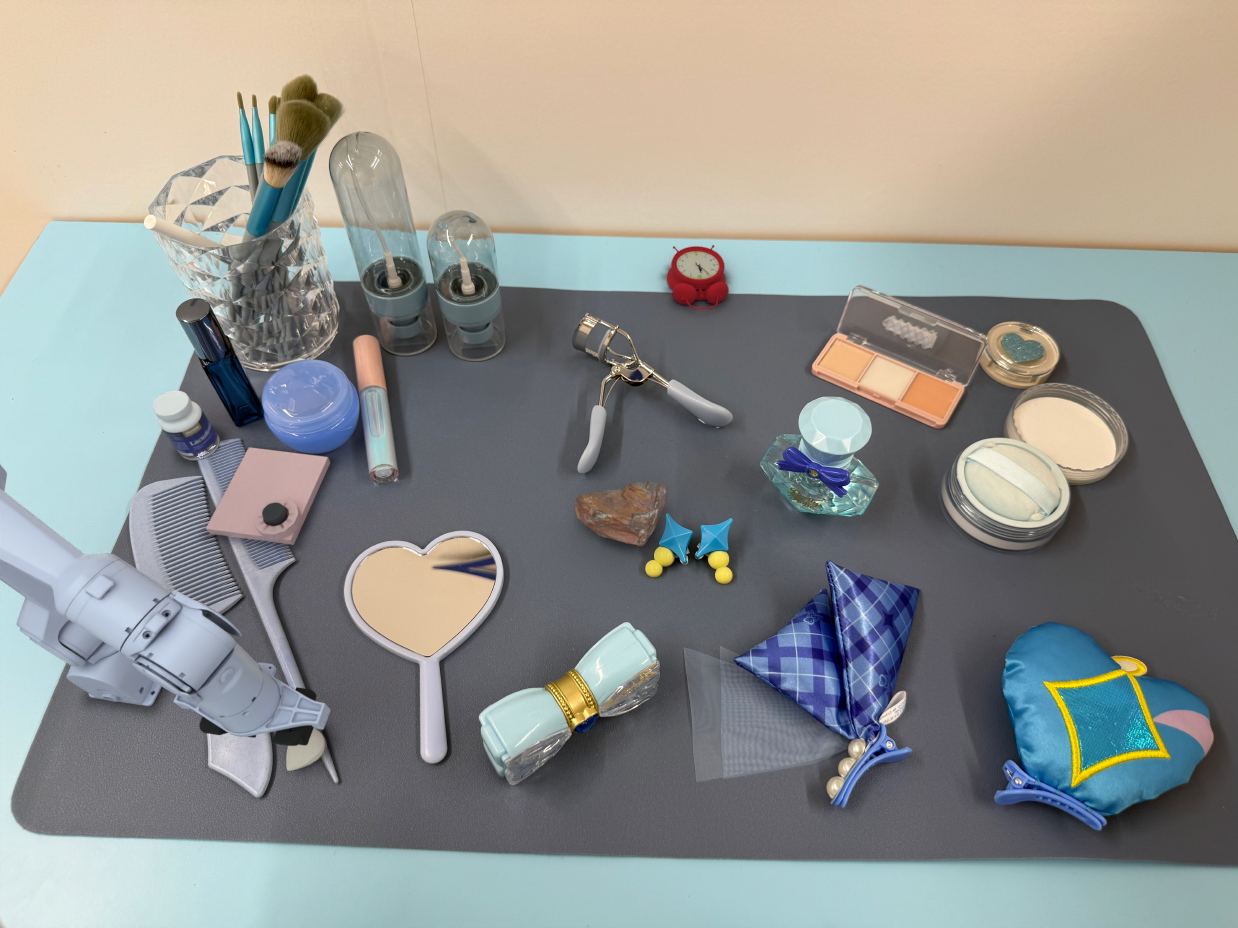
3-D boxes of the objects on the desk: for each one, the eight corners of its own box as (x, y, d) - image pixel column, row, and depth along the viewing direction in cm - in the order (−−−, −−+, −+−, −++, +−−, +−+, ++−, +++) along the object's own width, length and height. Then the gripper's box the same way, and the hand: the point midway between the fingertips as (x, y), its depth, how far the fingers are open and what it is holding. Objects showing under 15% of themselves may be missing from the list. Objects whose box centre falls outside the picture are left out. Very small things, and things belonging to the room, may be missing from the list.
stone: (662, 504, 109) (666, 463, 101) (674, 556, 104) (679, 517, 96) (573, 515, 108) (571, 475, 100) (581, 569, 103) (579, 530, 95)
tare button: (282, 527, 103) (278, 521, 102) (262, 524, 103) (258, 518, 102) (290, 509, 105) (286, 503, 103) (271, 507, 105) (267, 500, 104)
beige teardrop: (336, 744, 89) (329, 737, 87) (305, 783, 86) (298, 777, 84) (308, 725, 90) (301, 718, 88) (277, 763, 88) (269, 756, 86)
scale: (295, 547, 104) (287, 536, 102) (208, 536, 105) (199, 524, 103) (333, 462, 112) (327, 450, 110) (252, 452, 113) (244, 440, 111)
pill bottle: (208, 464, 112) (177, 421, 104) (172, 458, 113) (139, 415, 105) (228, 434, 115) (199, 390, 107) (193, 428, 116) (162, 384, 108)
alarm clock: (722, 240, 138) (737, 280, 126) (719, 272, 142) (734, 314, 130) (664, 242, 137) (674, 283, 126) (663, 274, 141) (673, 316, 130)
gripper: (322, 656, 72) (360, 704, 83) (176, 634, 73) (232, 685, 84) (294, 731, 68) (337, 771, 79) (139, 707, 69) (203, 750, 80)
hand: (281, 731), depth 82 cm, fingers open, 5 cm apart
